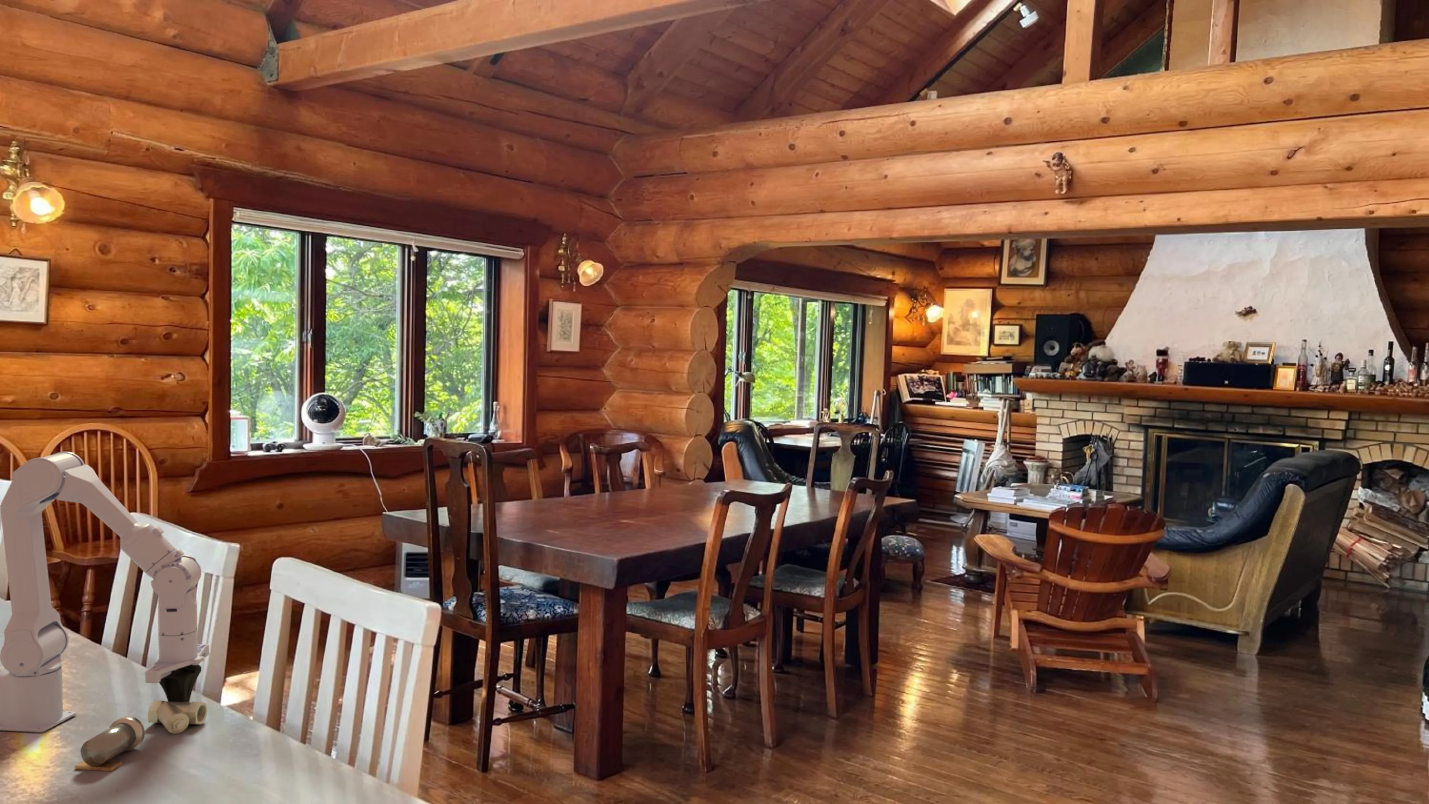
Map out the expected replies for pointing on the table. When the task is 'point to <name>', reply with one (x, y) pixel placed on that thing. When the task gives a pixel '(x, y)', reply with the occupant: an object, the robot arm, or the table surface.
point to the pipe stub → (111, 744)
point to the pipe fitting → (177, 714)
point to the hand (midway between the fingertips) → (179, 711)
